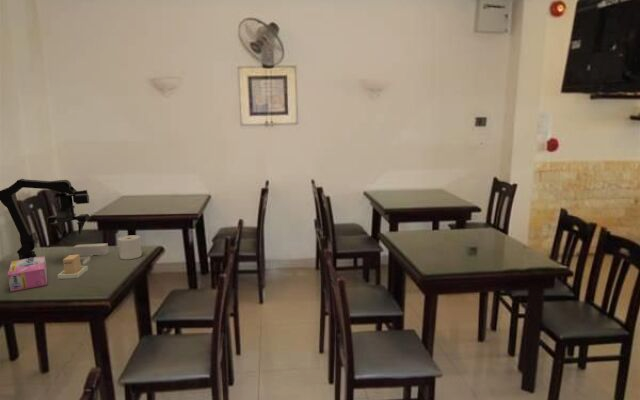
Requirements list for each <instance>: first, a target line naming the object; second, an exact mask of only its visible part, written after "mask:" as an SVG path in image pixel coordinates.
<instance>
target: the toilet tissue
mask: <svg viewBox="0 0 640 400" xmlns="http://www.w3.org/2000/svg"><path fill="white" fill-rule="evenodd" d="M117 242H118V243H117V245H118V251H119V252H118V253H119V259H120V260H133V259H137V258H140V257H141V256H142V253H143V252H142V244H141V236H140V235H137V234H136V235H134V234H133V235H124V236H121V235H119V236H118V237H117Z"/></svg>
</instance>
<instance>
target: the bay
mask: <svg viewBox="0 0 640 400" xmlns="http://www.w3.org/2000/svg"><path fill="white" fill-rule="evenodd" d="M72 253H73V254H72V255H80V261H82V266H86V264H87V263H89V262H90V261H91V260H92V257H93V255H98V256H106V255H107V254H108V253H110V251H109V244H108V242H107V243H87V244H76V245H74V246H73V247H72Z"/></svg>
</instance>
